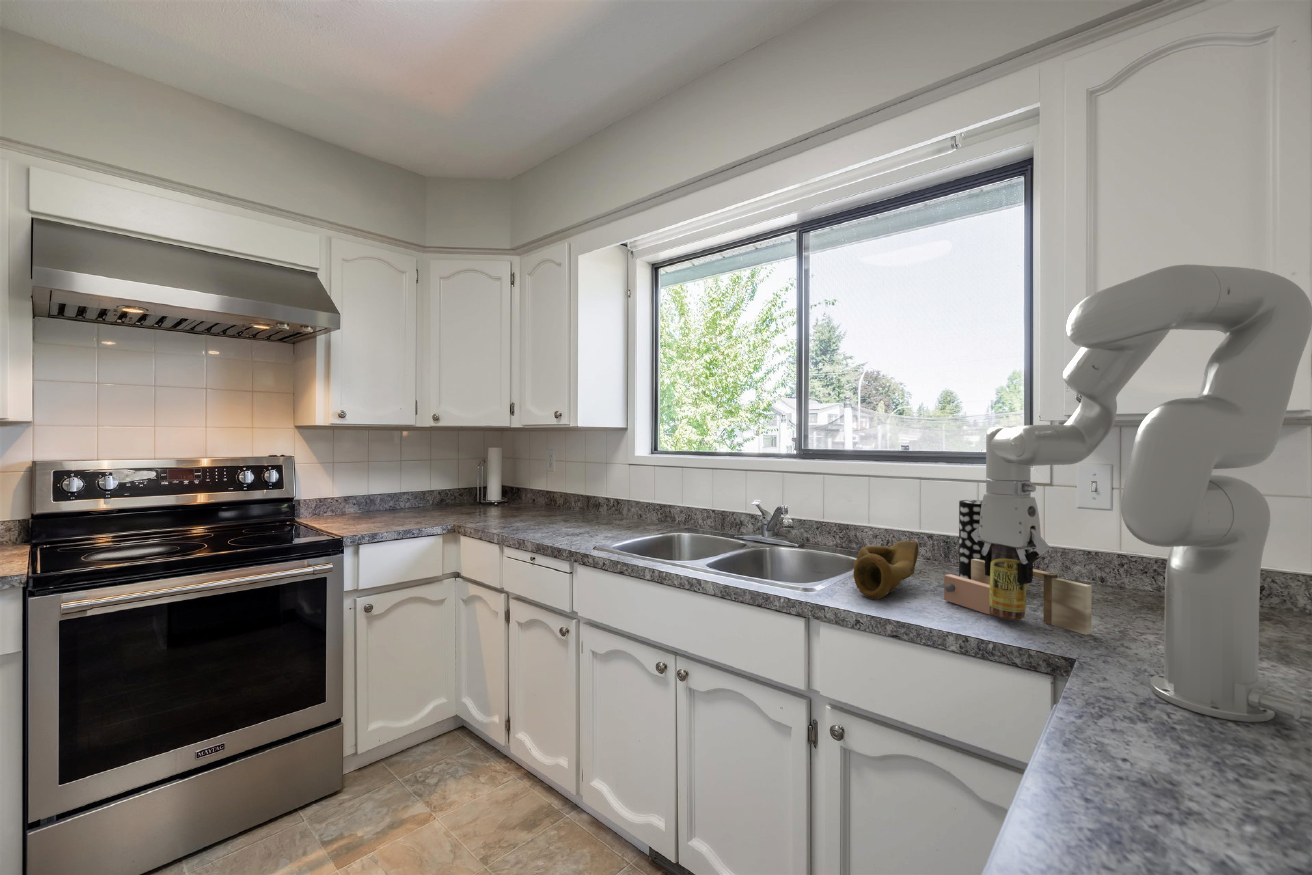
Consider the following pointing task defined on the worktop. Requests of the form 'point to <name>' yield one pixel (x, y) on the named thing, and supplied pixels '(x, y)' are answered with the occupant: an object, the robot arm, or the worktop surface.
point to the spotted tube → (968, 535)
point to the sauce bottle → (1006, 584)
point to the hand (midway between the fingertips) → (1008, 578)
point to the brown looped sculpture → (884, 567)
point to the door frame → (1055, 599)
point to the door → (967, 593)
